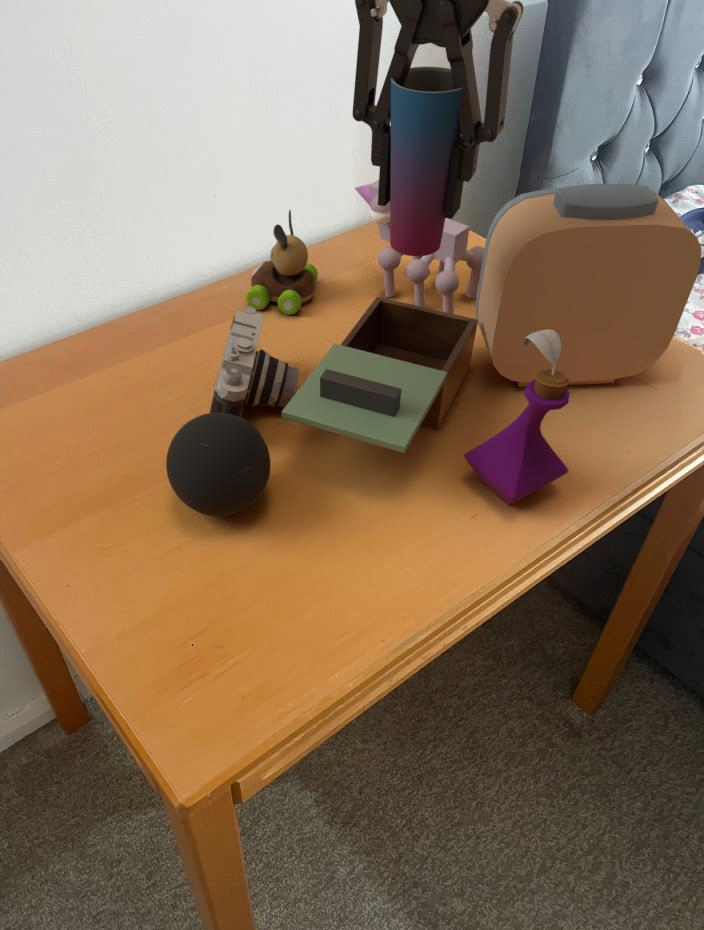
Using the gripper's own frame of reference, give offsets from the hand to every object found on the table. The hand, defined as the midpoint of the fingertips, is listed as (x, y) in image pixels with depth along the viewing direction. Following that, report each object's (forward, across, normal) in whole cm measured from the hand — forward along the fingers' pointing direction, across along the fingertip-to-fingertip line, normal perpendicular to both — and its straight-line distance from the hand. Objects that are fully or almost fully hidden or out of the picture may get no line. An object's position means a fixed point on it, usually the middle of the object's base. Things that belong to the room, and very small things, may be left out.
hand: (418, 205), depth 73 cm
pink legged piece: (+23, +7, -23) cm, 33 cm away
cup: (+4, 0, 0) cm, 4 cm away
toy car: (+23, +22, -14) cm, 35 cm away
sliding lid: (+16, 0, +11) cm, 19 cm away
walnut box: (+22, 0, -2) cm, 23 cm away
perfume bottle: (+23, -16, +10) cm, 29 cm away
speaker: (+23, +10, +24) cm, 35 cm away
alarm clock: (+23, -16, -13) cm, 30 cm away
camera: (+23, +14, +9) cm, 28 cm away
